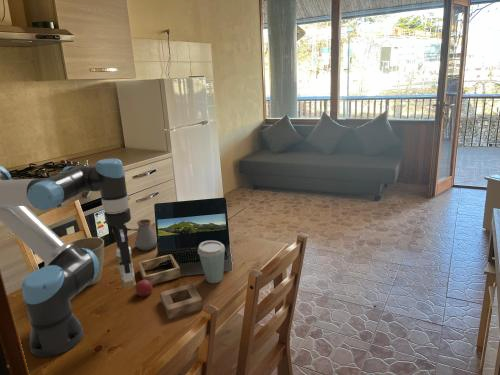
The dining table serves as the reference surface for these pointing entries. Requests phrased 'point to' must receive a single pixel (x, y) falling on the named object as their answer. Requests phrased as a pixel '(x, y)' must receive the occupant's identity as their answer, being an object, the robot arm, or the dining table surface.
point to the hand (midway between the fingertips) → (127, 277)
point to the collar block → (182, 306)
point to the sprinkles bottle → (124, 284)
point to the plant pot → (96, 247)
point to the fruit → (143, 288)
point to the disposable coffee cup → (212, 260)
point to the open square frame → (159, 276)
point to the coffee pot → (144, 235)
